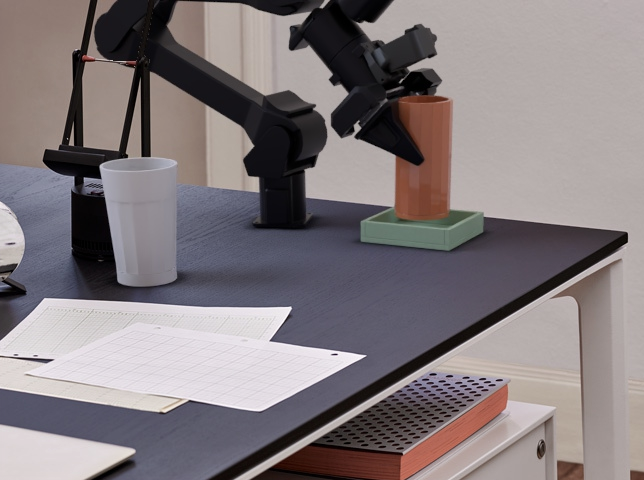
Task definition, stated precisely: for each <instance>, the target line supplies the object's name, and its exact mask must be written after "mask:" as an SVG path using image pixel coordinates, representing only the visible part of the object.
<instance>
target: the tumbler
mask: <svg viewBox="0 0 644 480" xmlns="http://www.w3.org/2000/svg"><path fill="white" fill-rule="evenodd" d="M398 99H399V118H400V120H401V121H402V123H403V125H404V126H405V128H406V129H407V131H408V132H409V134H410V135H411V137H412V139H413V140H414V142H415V143H416V145H417V146H418V148H419V150H420V151H421V153H422V155H423V157H424V158H425V160H424V162H423V163H422V164H421V165H419V166H416V165H414V164H412V163H410V162H408V161H406V160H404V159H402V158H400V157H398V156H396V155H394V206H393V207H394V208H395V216H396V217H399V218H402V219H407V220H419V221H426V220H438V219H443V218H446V217H448V216H449V214H450V209H451V189H452V158H453V157H452V154H453V152H452V151H453V118H454V116H453V115H454V99H453V97H449V96H444V95H417V96H405V97H399V98H398Z"/></svg>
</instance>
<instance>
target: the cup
mask: <svg viewBox="0 0 644 480" xmlns="http://www.w3.org/2000/svg"><path fill="white" fill-rule="evenodd" d="M99 172H100V176H101V182H102V188H103V194H104V198H105V199H104V200H105V204H106V211H107V212H106V213H107V217H108V223H109V224H108V225H109V229H110V236H111V243H112V248H113V254H114V261H115V267H116V278H117V282H118V283H119V284H121V285H123V286H129V287H138V288H139V287H141V288H142V287H143V288H144V287H156V286H162V285H166V284H170V283H173V282H174V281H176V280H177V279H178V272H177V271H178V270H177V236H178V235H177V234H178V233H177V228H178V226H177V224H178V221H177V219H178V218H177V217H178V214H177V213H178V211H177V210H178V208H177V207H178V162H177V160H175V159H170V158H165V157H150V156H149V157H148V156H147V157H145V156H144V157H143V156H142V157H128V158H119V159H113V160H108V161H105V162H103V163H101V164H100V165H99Z"/></svg>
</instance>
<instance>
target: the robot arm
mask: <svg viewBox="0 0 644 480" xmlns="http://www.w3.org/2000/svg"><path fill="white" fill-rule="evenodd" d="M394 1H395V0H328V2H327V3H325V0H154V8H153V14H152V19H151V25H150V30H149V35H148V40H147V44H146V48H145V53H144V55H145V56H146V57H147V58H149V59H150V63H149V71H148V72H150V73H152V74H155V75H157V76H158V77H160V78H161V79H163V80H165V81H166V82H168V83H170V84H171V85H173V86H174V87H176V88H178V89H179V90H181V91H182V92H184V93H186V94H188V95H189V96H191V97H192V98H194V99H195V100H197V101H199V102H201V103H202V104H204V105H205V106H207V107H209V108H210V109H212V110H214V111H215V112H217V113H218V114H220V115H222V116H223V117H225V118H227V119H228V120H230V121H231V122H233V123H235V125H238V126H240V127H241V128H242V129H243V130H244V132H245V134H246V136H247V137H248V139H249V140H250V142H251V144H252V145H253V147H252V148H251V149H250V150H249V151H248V152H247V154H246V155H244V157H243V159H242V162H243V166H244V168H245V172H246V174H247V176H248V177H249V178H252V177H253V178H258V196H259V215H258V216H257V218H255V219H254V220H253V222H252V227H255V228H257V227H259V228H305V227H306V226H307V225H308V223H310V221H311V220H312V219H313V218H314V213H313V212H307V187H306V186H307V183H306V170H308V169H313V168H315V167H316V165H317V163H318V159H319V156H320V155H319V154H321V152H323V151H324V149H325V147H326V145H327V141H328V137H329V136H328V128H327V125H326V119H325V117H324V116H323V115H322V114H321V113H320V112H319V111H318V110H317V109H316V110H315V108H316V107H317V104H316V103H311V102H308V101H305V100H303V99H302V98H301V97H300V96H299V95H298V94H296V93H295V92H293V91H292V90H290V89H287V90H283V91H278V92H273V93H271V94H266V95H265V94H263V93H262V92H260V91H258V90H256V89H255V88H253V86H250V85H248V84H247V83H245V82H243V81H242V80H240V79H239V78H237V77H235V76H233V75H232V74H230V73H228V72H227V71H225V70H223V69H222V68H220V67H218V66H217V65H215V64H213V63H212V62H210V61H208V60H207V59H205V58H203V57H201V56H200V55H199V54H197V53H195V52H193V51H192V50H190V49H189V48H187V47H185V46H183V45H182V44H180V42H178V41H176V39H175V37H174V36H173V34H172V32H171V30H170V29H169V27H168V25H169V24H170V23H171V21H172V20H173V16H174V12H175V9H176V6H177V4H178V2H194V3H221V4H222V3H223V4H225V3H226V4H242V5H245V6H248V7H251V8H253V9H255V10H257V11H259V12H264V13H268V14H272V15H276V16H280V17H288V16H292V15H299V14H304V13H305V14H306V13H309V14H308V15H307V17H306V18H305V19H304V20H303V21H302V23H298V24H293V25H290V26H289V39H288V50H289V51H291V52H295V51H299V50H304V49H307V48H310V49H311V50H312V51H313V52H314V53H315V55H316V56H317V58H319V59H320V61H321V62H322V63H323V64H324V65H325V67H326V68H327V69H328V71H329V72H330V73H331V74H332V75H331V76H330V77H329V78H328V81H329V83H331V85H332V86H333V87H338V86H341V87H342V88H343V89H344V90H345V91H346V93H347V95H346V96H345V97H344V98H343V99H342V101H341V102H340V103H339V104H338V105H337V106H336V108H334V109H333V111H332V112H331V113H330V127H331V128H332V130H333V131H334V132H335V133H336V134H337V136H339V138H340V139H344V138H347V137H350V136H353V135H354V136H353V138H354V139H355V140H357V141H359V140H360V141H362V142H365V143H366V144H368V145H369V144H370V145H371V146H374V147H376V148H378V149H380V150H383V151H385V152H386V153H389V154H392V155H394V156H395V155H396V156H398V157H400V158H402V159H404V160H406V161H408V162H410V163H412V164H414V165H416V166H419V165H421V164H422V163H423V162H424V160H425V158H424V157H423V155H422V153H421V151H420V150H419V148H418V146H417V145H416V143H415V142H414V140H413V139H412V137H411V135H410V134H409V132H408V131H407V129H406V128H405V126H404V125H403V123H402V121H401V120H400V118H399V99H398V98H399V97H405V96H417V95H434V96H436V93H437V88H438V87H440V85H441V84H442V83H443V79H442V78H441V77H440V76H439V75H438V73H437V72H436V71H435V69H434V68H429V67H422V68H418V69H414V70H411V71H410V70H409V68H410V67H411V66H413V65H416V64H417V63H420V62H422V61H423V60H426V59H429V60H430V59H432V58H434V57H436V56H437V55H438V52H437V49H436V46H435V45H436V42H437V41H438V36H437V35H436V34H435V33H433V32H432V30H431V28H430V27H425V26H424V25H423V23H418V24H414V25H413V27H410V28H407V29H405V30H404V32H403V33H404V34H402V35H401V36H398V37H396V38H394V39H392V40H390V41H388V42H387V43H385V42H384V41H383V40H381V39H376V40H371V38H369V36H368V34H366V32H365V31H364V30H363V29H362V27H360V25H359V24H363V23H364V22H366V23H368V24H375V23H376V22H377V21H378V20H379V19H380V18H381V16H382V15H383V14H384V13H385V12H386V11H387V10H388V9H389V8H390V6H391V5H392V4H393V3H394ZM324 3H325V5H324V6H323V4H324ZM322 6H323V7H322ZM147 7H148V0H115V1H114V2H113V3H112V5H111V6H110V8H109V9H108V10H107V11H106V12H104V13H102V14H101V15H100V16H99V17H97V19H96V22H95V24H94V29H93V37H94V42H95V45H96V51H97V52H98V53H99V55H100V56H102V58H104V59H105V60H107V61H110V60H113V61H136V60H137V57H138V51H139V46H140V42H141V37H142V31H143V27H144V22H145V17H146V12H147ZM117 64H118V65H119V66H120V65H121V66H123V67H126V68H129V69H134V70H136V69H135V67H134V66H133V65H126V64H120V63H117ZM356 124H357V125H358V126H359V128H360V129H359V130H358V131H357V132H356V129H355V125H356Z"/></svg>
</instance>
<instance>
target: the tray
mask: <svg viewBox="0 0 644 480" xmlns="http://www.w3.org/2000/svg"><path fill="white" fill-rule="evenodd" d="M484 217H485V212H484V211H475V210H464V209H455V208H450V214H449V216H448V217H446V218H443V219H438V220H426V221H419V220H407V219H402V218H399V217H396V216H395V208H394V206H391V207H390V208H387V209H385V210H383V211H380V212H379V213H377V214H374V215H372V216H370V217H367V218H364V219H363V220H361V221H360V242H361V243H369V244H377V245H378V244H379V245H380V244H381V245H389V246H398V247H399V246H400V247H407V248H418V249H426V250H436V251H446V252H450V251H451V250H453V249H455V248H457V247H458V246H461V245H462V244H464V243H466V242H468V241H469V240H471V239H473V238H475V237H477V236H478V235H481V234H482V233H484Z"/></svg>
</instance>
